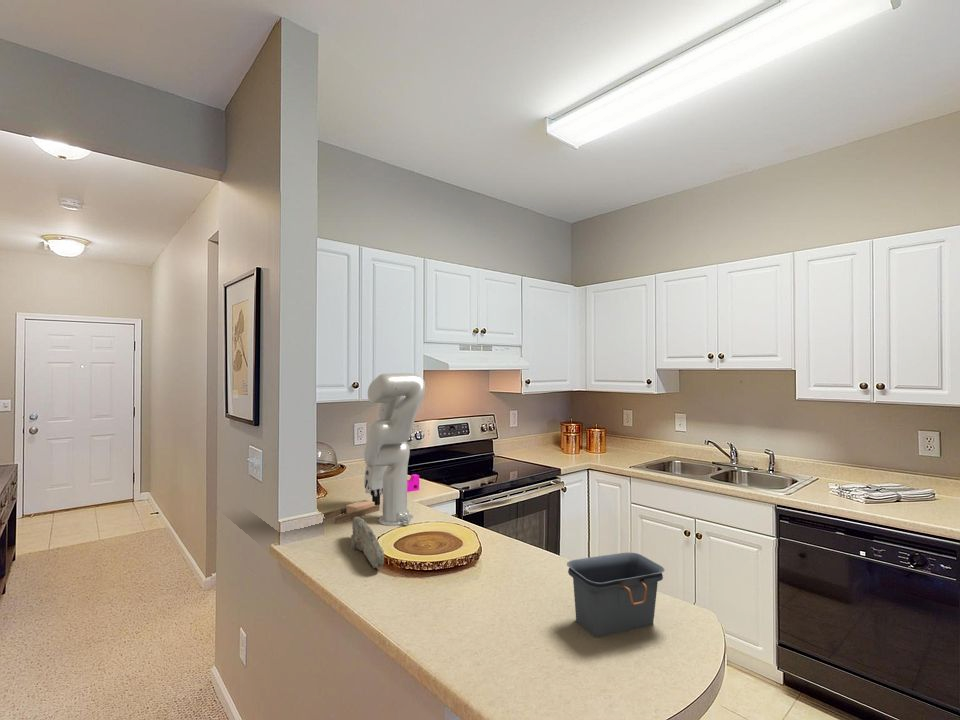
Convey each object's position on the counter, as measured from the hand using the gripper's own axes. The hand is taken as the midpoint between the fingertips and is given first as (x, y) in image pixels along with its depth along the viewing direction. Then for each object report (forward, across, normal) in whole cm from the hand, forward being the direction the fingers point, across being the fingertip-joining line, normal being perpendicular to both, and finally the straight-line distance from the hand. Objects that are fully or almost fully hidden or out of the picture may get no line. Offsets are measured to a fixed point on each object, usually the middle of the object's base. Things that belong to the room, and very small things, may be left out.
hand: (376, 504), depth 213 cm
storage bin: (+2, -28, -120) cm, 123 cm away
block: (+2, -8, 0) cm, 8 cm away
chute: (+2, -13, 0) cm, 13 cm away
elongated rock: (+2, -37, -38) cm, 53 cm away
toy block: (+2, +26, +11) cm, 28 cm away
